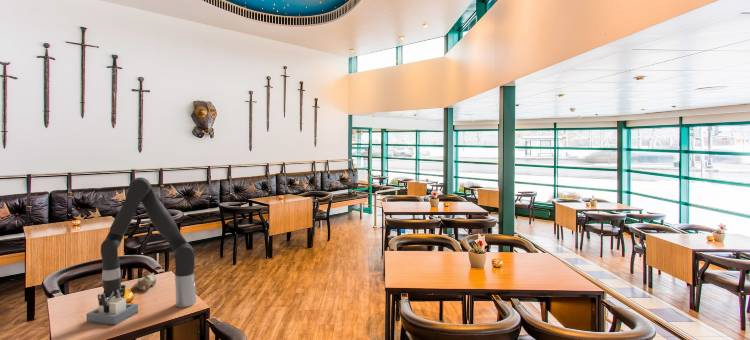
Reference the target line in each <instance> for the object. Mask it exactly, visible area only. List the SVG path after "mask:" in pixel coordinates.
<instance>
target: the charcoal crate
mask: <svg viewBox="0 0 750 340" xmlns="http://www.w3.org/2000/svg"><path fill="white" fill-rule="evenodd" d="M138 313H139V304H137V303H130V302H129V303H128V302H126V309H125V310H123V311H121V312H119V313H117V314H115V315H110V314H101V313H99V307H97V308H95V309H93V310H91V311H88V312H87V313H86V314H85V315H86V323H87V324H88V323H89V324H96V325H103V326H104V325H105V326H117V325H119V324H120V323H122V322H124V321H126V320H127V319H130V318H131V317H133V316H135V315H137V314H138Z"/></svg>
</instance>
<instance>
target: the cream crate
mask: <svg viewBox="0 0 750 340" xmlns="http://www.w3.org/2000/svg"><path fill="white" fill-rule="evenodd" d="M107 299H109V298H107ZM106 303H107V301H106ZM126 303H127V299H126V298H125V297H122V298H115V296H114V297H112V299H111V301H110V302H109V312H108V313H105V312H104V307H103V306H100V305H99V301H98V308H99V313H101V314H110V315H115V314H117V313H119V312H121V311H123V310H125V309H126Z"/></svg>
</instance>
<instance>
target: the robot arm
mask: <svg viewBox="0 0 750 340" xmlns="http://www.w3.org/2000/svg"><path fill="white" fill-rule="evenodd" d="M140 204H141V205H143V207H144V210H145V211H146V215H147V216H148V218H149V221H150V222H151V223H152V225H153V227H154V228H155V230H156V231H157V232H158V233H159V235H161V236H162V237H163V238H164V239H165V240H166V241H167V243H168V244H169V245H170V247H171V249H172V252H173V254H174V263H175V266H174V267H175V269H174V270H175V271H174V275H175V276H174V277H175V278H174V280H175V282H174V283H175V307H176V308H181V309H182V308H189V307H192V306H193V305H195V303H196V301H197V297H196V295H197V294H196V284H195V251H194V248H193V246H192V245H191V244H190V243H189V242H188V241H187V240H186V239H185V237H184V236H183V235H182V233H181V231H180V229H179V228H178V225H177V223H176V221H175V219H174V218H173V216H172V215H171V213H170V211H169V210H168V209H167V207H165V205H164V204H163V202H161V201H160V199H159V198H158V196H157V195H156V193H155V191H154V188H153V187H152V185H151V183H150V181H149V180H148V179H146V178H144V177H136V178H133V179H132V180H131V182H129V184H128V190H127V194H126V197H125V200H124V202H123V204H122V205H121V208H120V209H119V211H118V212H117V214H116V216H115V218H114V220H113V222H112V224H111V226H110V228H109V232H108V233H107V236H106V237H105V239H104V240H103V241H102V243H101V244H100V255H101V258H102V259H101V260H102V264H101V265H102V273H101V276H102V277H101V279H102V281H101V282H102V288H103V291H102V292H101V293H99V294H97V301H98V302H99V303H98V306H99V305H100V306H103V307H104V312H105V313H108V312H109V302H110V301H111V299H112V297H114V298H125V296H126V284H122V278H121V277H122V274H121V267H120V266H121V265H120V262H121V261H120V257H119V256H118V255H119V252H118V251H119V247H120V246H121V243H122V240H123V238H124V235H125V234H126V233H127V231H128V228H129V226H130V225H131V223H132V220H133V218H134V215H135V214H136V212H137V209H138V207H139V205H140ZM107 298H109V299H107ZM106 301H107V303H106ZM188 306H189V307H188Z"/></svg>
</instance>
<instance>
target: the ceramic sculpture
mask: <svg viewBox="0 0 750 340" xmlns="http://www.w3.org/2000/svg"><path fill="white" fill-rule="evenodd" d="M156 283H157V278H156V276H155V273H154V272H152V273H150V274H144V275H143V276H142V277H141V278H139V279H138V281H137V282H136V283H135V284H133V285H132V287H130V289H131V290H130V291H137V290H138V289H139V290H142V291H143V292H144V291H145V292H146V291H148V290H149V289H150V287H151V285H152V286H155V285H156Z"/></svg>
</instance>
